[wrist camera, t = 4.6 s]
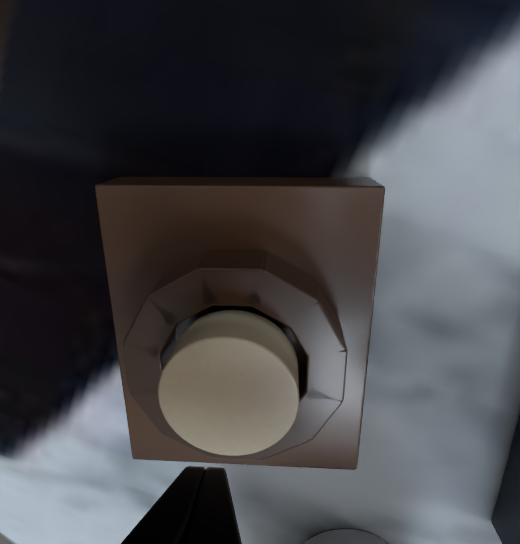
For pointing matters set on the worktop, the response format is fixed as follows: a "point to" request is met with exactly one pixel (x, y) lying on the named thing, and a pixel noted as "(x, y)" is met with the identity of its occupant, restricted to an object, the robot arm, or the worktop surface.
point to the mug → (345, 537)
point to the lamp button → (231, 384)
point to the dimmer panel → (510, 497)
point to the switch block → (246, 295)
